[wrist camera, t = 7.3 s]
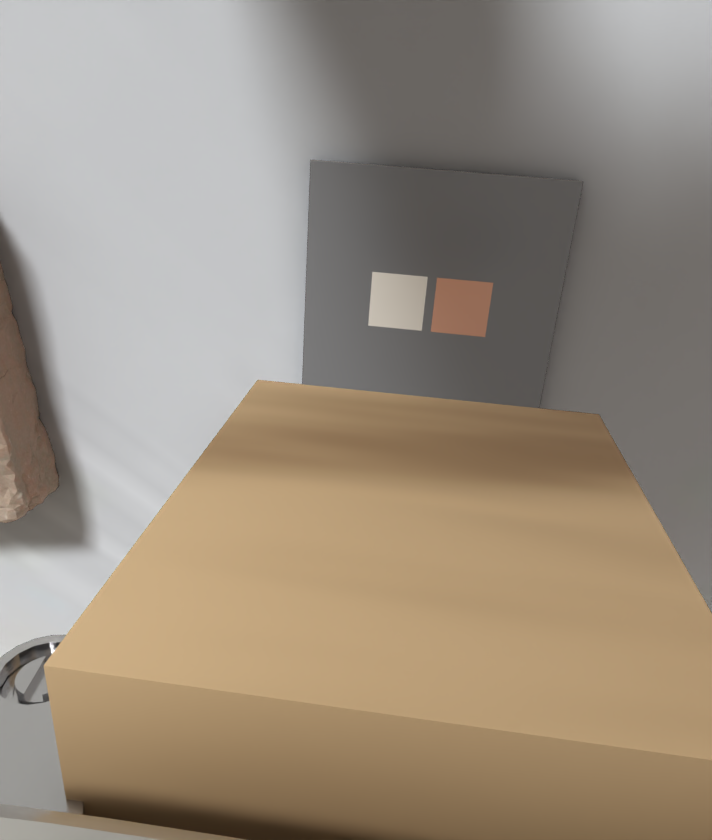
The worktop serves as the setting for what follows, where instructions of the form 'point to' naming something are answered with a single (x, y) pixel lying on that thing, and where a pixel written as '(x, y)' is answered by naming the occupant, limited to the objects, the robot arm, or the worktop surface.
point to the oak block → (395, 636)
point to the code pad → (434, 280)
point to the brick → (20, 426)
